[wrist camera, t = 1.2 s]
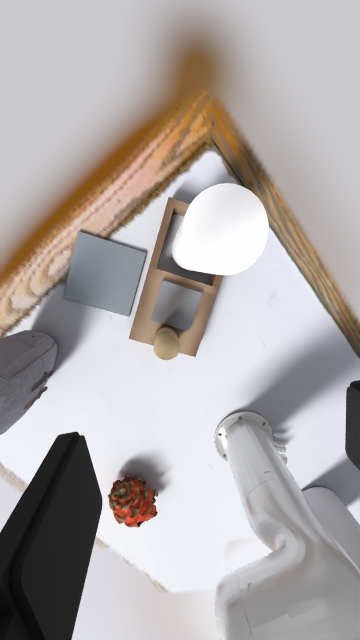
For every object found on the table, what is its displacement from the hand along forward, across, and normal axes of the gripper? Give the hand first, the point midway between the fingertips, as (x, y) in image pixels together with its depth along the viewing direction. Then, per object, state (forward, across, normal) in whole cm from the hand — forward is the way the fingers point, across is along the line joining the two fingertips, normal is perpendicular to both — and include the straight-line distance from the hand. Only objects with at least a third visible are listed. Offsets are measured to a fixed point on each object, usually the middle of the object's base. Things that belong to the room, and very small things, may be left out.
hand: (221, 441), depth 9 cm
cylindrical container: (+39, -5, -7) cm, 40 cm away
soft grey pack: (+39, +26, +8) cm, 48 cm away
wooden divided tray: (+39, -2, -2) cm, 39 cm away
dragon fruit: (+38, +14, +41) cm, 58 cm away
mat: (+39, +11, -5) cm, 41 cm away
